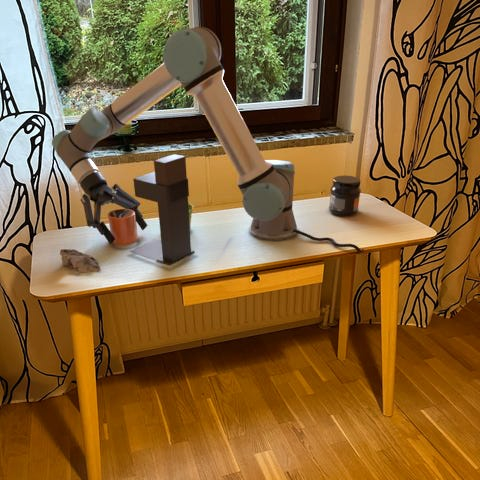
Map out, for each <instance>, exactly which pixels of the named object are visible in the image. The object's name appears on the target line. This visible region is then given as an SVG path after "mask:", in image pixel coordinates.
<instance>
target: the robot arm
mask: <svg viewBox="0 0 480 480" xmlns="http://www.w3.org/2000/svg"><path fill="white" fill-rule="evenodd" d="M162 53H163V54H162V58H163V63H162V64H160V65H159V66H158V67H157V68H155V69H154V70H153V71H151V72H150V73H148V75H146V76H145V77H143V78H142V79H141V80H140V81H138V82H137V83H136V84H134V85H133V86H131V88H129V89H128V90H127V91H126V92H124V93H123V94H121V95H120V96H119V97H117V98H116V99H115V100H114V101H112V102H111V103H110V104H109V105H107V106H106V107H104V108H103V109H101V110H99V109H95V108H89V109H88V110H87V111H86V112H85V113H83V114H82V115H81V117H80V119H79V120H78V121H77V122H76V124H75V125H74V126H73V128H72V129H71V130H69V129H64V130H61V131H59V132H58V133H57V134H55V135H54V136H53V137H52V140H51V146H52V148H53V149H54V151H55V152H56V156H58V157H59V158H60V160H61V161H62V162H63V163H64V165H65V166H66V167H67V169H68V171H69V172H70V174H71V176H73V178H74V180H75V181H76V182H77V184H79V186H80V188H81V189H82V191H83V192H84V194H83V195H82V196H81V197H80V202H81V204H82V205H83V211H84V215H85V221H86V226H87V227H89V228H91V227H92V228H93V229H96V230H97V231H98V233H99V234H100V235H101V236H104V238H105V239H106V240H107V242H108V244H109V245H112V244H114V243H113V242H114V241H115V238H114V236H113V235H112V233H111V232H110V228H108V226H107V225H106V224H105V221H101V213H102V212H101V211H102V207H104V206H105V205H108V204H115V205H116V206H119V207H121V208H122V209H130V210H133V211H134V212H135V217H136V224H137V225H138V226H139V227H140V229H141V230H142V231H144V230H145V229H146V228H147V227H148V224H147V222H146V220H145V219H144V218H143V217H144V216H143V214H142V213H141V211H140V210H139V207H140V205H141V202H140V201H139V200H137V199H136V198H135V197H133V196H132V195H130V194H129V193H127V192H126V191H125V190H123V189H122V188H121V187H120V185H119V184H118V183H114V184H113V186H109V184H108V183H107V180H106V178H105V177H104V175H103V174H102V173H101V172H100V170H99V168H98V166H96V164H95V163H94V161H93V160H92V159H91V157H90V156H89V152H91V150H92V149H93V148H94V147H95V146H96V144H97V143H99V142H100V141H102V140H104V139H106V138H107V137H110V136H111V135H114V134H117V133H119V132H120V131H122V130H123V129H124V128H125V126H127V125H128V124H129V123H131V122H132V121H134V120H135V119H136V118H138V117H140V116H141V115H142V114H144V112H147V111H148V110H149V109H150V108H152V107H153V106H155V105H156V104H157V103H158V102H160V101H162V100H163V99H164V98H165V97H167V96H168V95H169V94H171V93H172V92H174V91H175V90H177V89H178V88H179V87H181V86H182V87H183V89H184V91H185V93H186V95H189V96H192V97H195V100H196V102H197V103H198V105H199V106H200V109H201V110H202V112H203V114H204V116H205V118H206V119H207V121H208V123H209V125H210V127H211V128H212V130H213V133H214V134H215V136H216V138H217V140H218V141H219V143H220V145H221V147H222V149H223V151H224V152H225V154H226V156H227V159H229V162H230V164H231V165H232V167H233V169H234V171H235V172H236V174H237V181H236V185H237V187H238V189H239V191H240V192H241V195H242V205H243V206H242V207H243V209H244V211H245V212H246V214H247V215H248V216H249V217H251V218H252V221H251V223H250V233H251V234H252V235H253V236H254V237H256V238H258V239H261V240H266V241H282V240H287V239H291V238H293V237H294V236H295V235H296V234H298V235H301V236H303V237H306V238H308V239H309V240H312V241H316V242H325V241H326V242H327V241H328V242H331V244H332V245H333V246H334V247H337V248H353V249H355V250H356V251H357V252H360V253H362V250H361V248H360V247H359V246H358V245H356V244H353V243H339V242H338V243H337V242H336V241H335V239H334V238H332V237H316V236H314V235H311V234H309V233H306V232H304V231H301V230H298V226H297V222H296V219H295V214H294V211H293V202H294V184H295V183H294V182H295V175H296V172H295V165H294V163H293V162H291V161H287V160H281V159H264V157H263V155H262V153H261V150H260V149H259V147H258V145H257V143H256V141H255V139H254V138H253V136H252V134H251V132H250V130H249V128H248V126H247V124H246V122H245V120H244V118H243V117H242V114H241V113H240V111H239V108H238V107H237V105H236V102H235V101H234V99H233V97H232V94H231V93H230V92H229V90H228V88H227V86H226V84H225V82H224V80H223V77H224V74H225V68H224V67H223V65H222V63H221V58H222V45H221V42H220V39H219V37H218V36H217V35H216V34H215V33H214V32H213V30H211V29H209V28H207V27H204V26H195V27H191V28H190V27H186V28H181V29H179V30H177V31H174V32H173V33H171V35H170V36H169V37H168V39H166V41H165V44H164V48H163V51H162ZM91 202H93V208H92V204H91ZM92 209H93V210H92Z"/></svg>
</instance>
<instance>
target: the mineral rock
mask: <svg viewBox="0 0 480 480" xmlns="http://www.w3.org/2000/svg"><path fill="white" fill-rule="evenodd" d="M59 255H60V256H61V263H62V265H63V266H67V268H69V270H75V271H77V272H78V273H80V274H81V273H93V272H100V271H101V267H100V265H99V262H98V261H97V259H95V257H93V256H91V255H89V254H85V253H83V252H80V251H79V250H76V249H74V248H73V249H70V248H64V249H60V252H59Z"/></svg>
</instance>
